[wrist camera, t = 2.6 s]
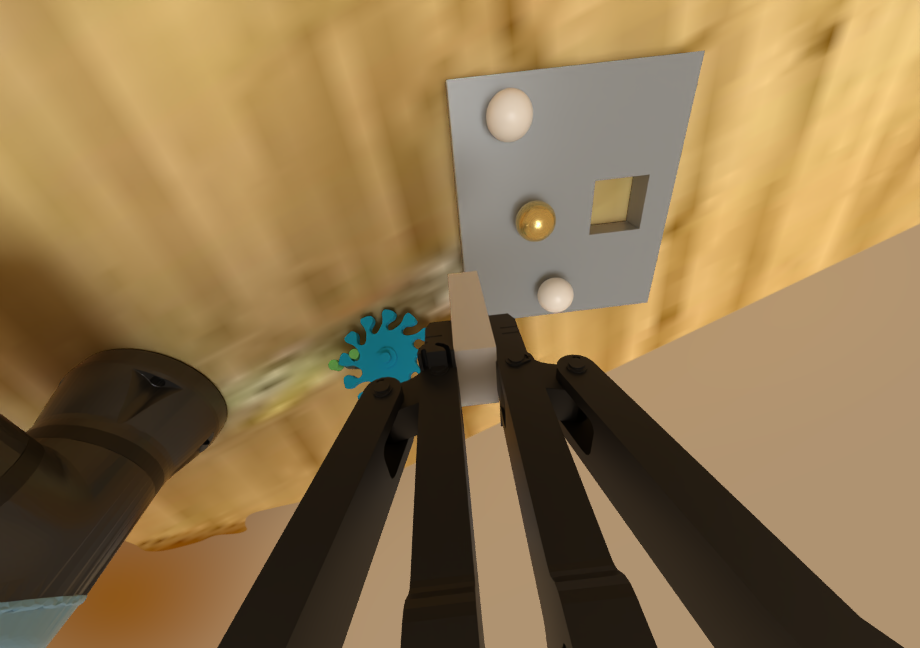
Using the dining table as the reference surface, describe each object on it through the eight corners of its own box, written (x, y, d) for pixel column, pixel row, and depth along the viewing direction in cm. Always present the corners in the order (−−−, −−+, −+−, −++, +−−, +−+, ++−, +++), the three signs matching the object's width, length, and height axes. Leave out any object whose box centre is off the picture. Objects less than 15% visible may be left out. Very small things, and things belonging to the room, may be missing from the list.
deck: (467, 311, 36) (469, 323, 34) (445, 82, 26) (446, 79, 24) (634, 291, 37) (647, 302, 35) (682, 55, 26) (704, 50, 24)
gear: (435, 305, 34) (435, 409, 32) (444, 318, 40) (445, 407, 38) (328, 310, 35) (322, 411, 33) (352, 322, 41) (348, 409, 39)
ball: (512, 236, 30) (520, 249, 27) (511, 198, 28) (520, 208, 25) (548, 232, 30) (560, 244, 27) (550, 194, 28) (563, 203, 25)
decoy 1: (533, 303, 34) (542, 321, 31) (534, 274, 32) (543, 289, 29) (565, 300, 34) (577, 316, 31) (567, 270, 32) (580, 285, 29)
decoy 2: (484, 142, 26) (490, 147, 23) (481, 91, 24) (488, 89, 21) (526, 137, 26) (537, 141, 23) (527, 86, 24) (539, 84, 21)
